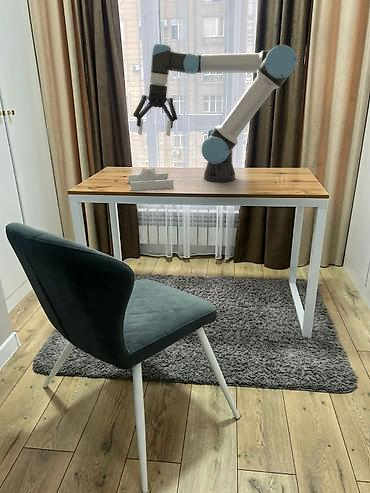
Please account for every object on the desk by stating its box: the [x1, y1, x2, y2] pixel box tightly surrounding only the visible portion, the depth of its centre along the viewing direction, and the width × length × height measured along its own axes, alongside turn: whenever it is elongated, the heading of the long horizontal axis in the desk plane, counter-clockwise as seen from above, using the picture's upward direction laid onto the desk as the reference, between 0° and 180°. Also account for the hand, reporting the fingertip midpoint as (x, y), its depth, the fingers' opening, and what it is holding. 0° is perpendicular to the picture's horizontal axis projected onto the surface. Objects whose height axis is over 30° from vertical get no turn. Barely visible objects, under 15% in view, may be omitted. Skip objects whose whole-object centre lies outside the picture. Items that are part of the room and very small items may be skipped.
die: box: [139, 167, 158, 181], centre depth 183 cm, size 8×9×10 cm
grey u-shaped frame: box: [127, 172, 175, 191], centre depth 184 cm, size 19×15×4 cm
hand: (154, 134), depth 180 cm, fingers open, 13 cm apart
